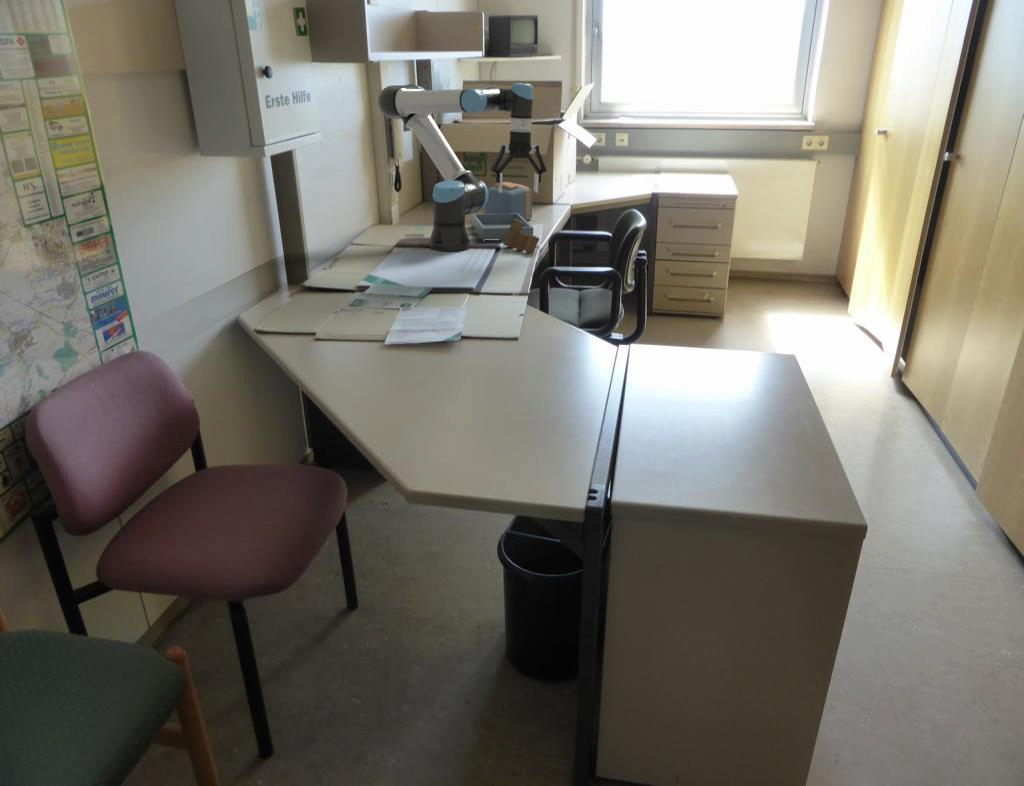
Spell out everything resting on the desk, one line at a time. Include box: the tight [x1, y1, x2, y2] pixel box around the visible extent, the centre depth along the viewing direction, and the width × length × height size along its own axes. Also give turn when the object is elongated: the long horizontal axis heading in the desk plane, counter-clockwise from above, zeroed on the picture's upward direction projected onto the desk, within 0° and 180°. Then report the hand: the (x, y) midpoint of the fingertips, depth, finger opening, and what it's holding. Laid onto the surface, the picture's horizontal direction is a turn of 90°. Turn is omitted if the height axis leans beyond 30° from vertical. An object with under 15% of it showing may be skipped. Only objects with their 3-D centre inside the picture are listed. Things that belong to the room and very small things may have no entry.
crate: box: [471, 213, 534, 242], centre depth 297 cm, size 20×28×5 cm
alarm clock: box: [483, 181, 533, 221], centre depth 320 cm, size 16×16×16 cm
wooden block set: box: [503, 219, 540, 254], centre depth 273 cm, size 18×9×10 cm, turn 25°
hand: (517, 192), depth 267 cm, fingers open, 13 cm apart
